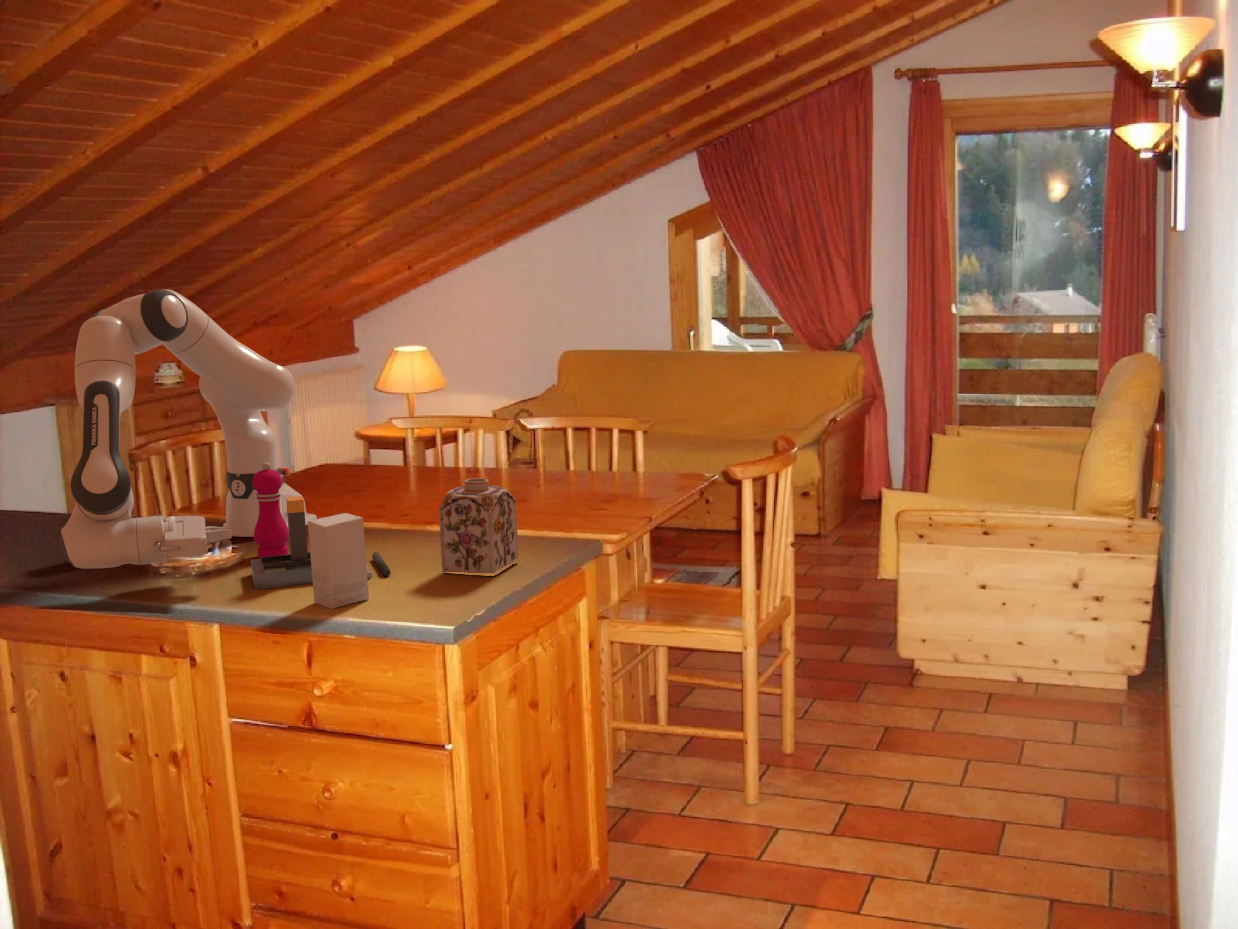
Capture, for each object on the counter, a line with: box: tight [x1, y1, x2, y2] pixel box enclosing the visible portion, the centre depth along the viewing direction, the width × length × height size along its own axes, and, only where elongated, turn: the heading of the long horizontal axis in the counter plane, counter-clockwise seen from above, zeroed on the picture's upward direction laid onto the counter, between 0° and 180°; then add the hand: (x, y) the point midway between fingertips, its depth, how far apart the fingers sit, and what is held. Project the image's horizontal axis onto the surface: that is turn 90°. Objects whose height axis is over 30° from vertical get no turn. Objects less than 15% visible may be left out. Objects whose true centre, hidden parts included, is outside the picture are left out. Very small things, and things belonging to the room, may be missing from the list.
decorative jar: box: [438, 477, 519, 573], centre depth 249 cm, size 12×12×18 cm
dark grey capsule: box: [366, 551, 392, 579], centre depth 252 cm, size 16×5×2 cm, turn 19°
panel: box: [250, 551, 313, 590], centre depth 248 cm, size 18×12×4 cm, turn 109°
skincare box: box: [307, 512, 370, 610], centre depth 228 cm, size 8×7×16 cm
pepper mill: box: [252, 462, 289, 559], centre depth 264 cm, size 7×7×20 cm
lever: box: [286, 495, 309, 561], centre depth 246 cm, size 3×4×12 cm
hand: (231, 532), depth 242 cm, fingers closed
